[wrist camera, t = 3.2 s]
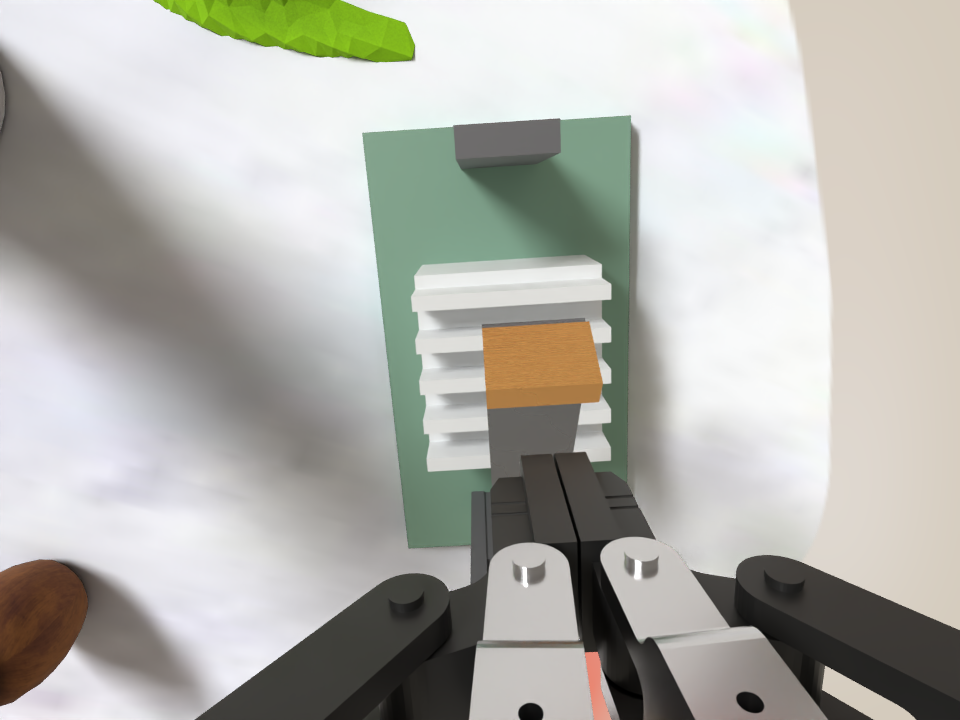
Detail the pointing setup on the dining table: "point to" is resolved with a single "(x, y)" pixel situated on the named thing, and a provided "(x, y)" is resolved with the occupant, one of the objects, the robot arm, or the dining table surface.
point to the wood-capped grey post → (536, 388)
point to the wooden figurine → (37, 623)
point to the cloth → (303, 26)
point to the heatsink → (494, 293)
